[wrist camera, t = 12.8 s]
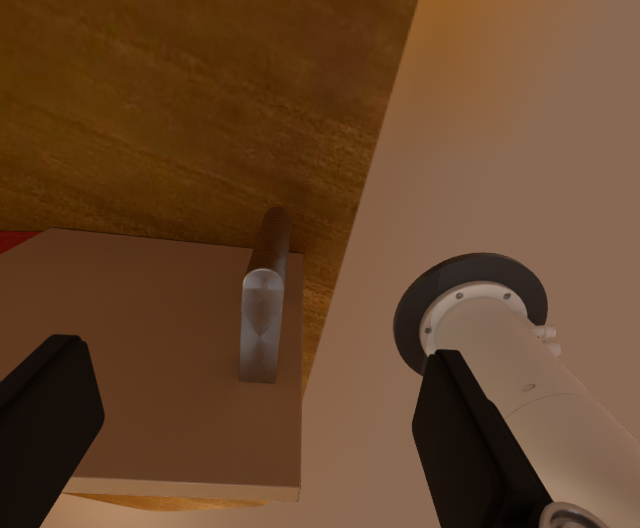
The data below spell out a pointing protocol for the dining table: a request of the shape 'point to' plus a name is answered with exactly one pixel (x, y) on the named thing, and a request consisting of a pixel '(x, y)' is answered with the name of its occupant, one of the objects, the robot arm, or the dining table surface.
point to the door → (173, 356)
